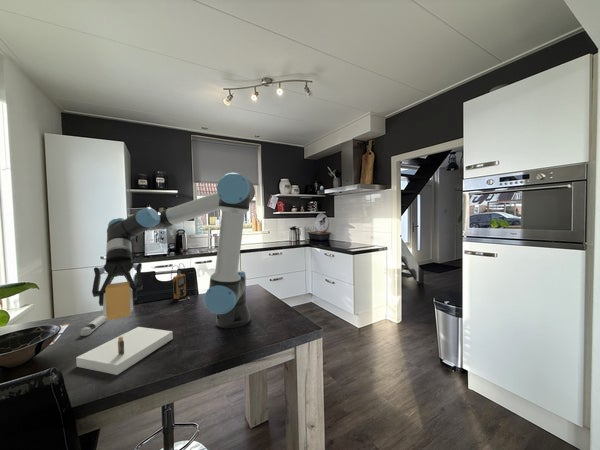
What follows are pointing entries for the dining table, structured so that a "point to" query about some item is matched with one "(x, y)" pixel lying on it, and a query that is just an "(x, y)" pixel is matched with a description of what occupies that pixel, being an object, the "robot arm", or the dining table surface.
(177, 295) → the multimeter
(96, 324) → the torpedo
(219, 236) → the robot arm
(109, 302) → the orange upright block
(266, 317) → the dining table surface
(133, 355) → the white base board
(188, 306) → the dining table surface
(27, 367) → the dining table surface
